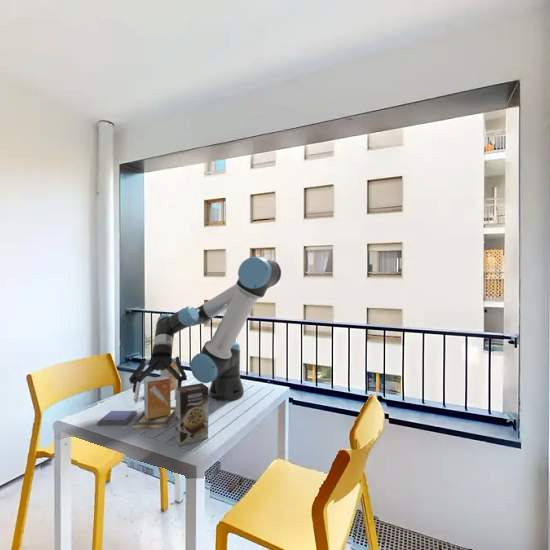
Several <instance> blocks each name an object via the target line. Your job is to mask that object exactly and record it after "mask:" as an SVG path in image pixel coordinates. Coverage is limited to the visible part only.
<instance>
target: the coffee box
mask: <svg viewBox="0 0 550 550" xmlns="http://www.w3.org/2000/svg"><path fill="white" fill-rule="evenodd" d="M209 389H210V387H208V386H207V385H205V383H202V382H200V383H193V384H189V385H183V386H182V385H181V387H176V400H175V407H176V416H175V417H174V419H175V425H174V426H175V427H174V428H175V429H174V437H175V439H176V442H178V444H179V446H184V445H187V444H191V443H196V442H198V441H202V440H206V439H208V438H209V399H210V397H209Z"/></svg>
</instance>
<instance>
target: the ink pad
mask: <svg viewBox="0 0 550 550" xmlns="http://www.w3.org/2000/svg"><path fill="white" fill-rule="evenodd" d="M137 415H138V411H137V410H111V411H109V412H108V413H107V414H106V415H104V416H103V417H101V419H99V420H98V421H97V422H96V423H97V424H96V425H97V426H127V425H128V424H129V423H130V422H131V421H132V420H133V419H134V418H135V417H137ZM98 424H99V425H98Z"/></svg>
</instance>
